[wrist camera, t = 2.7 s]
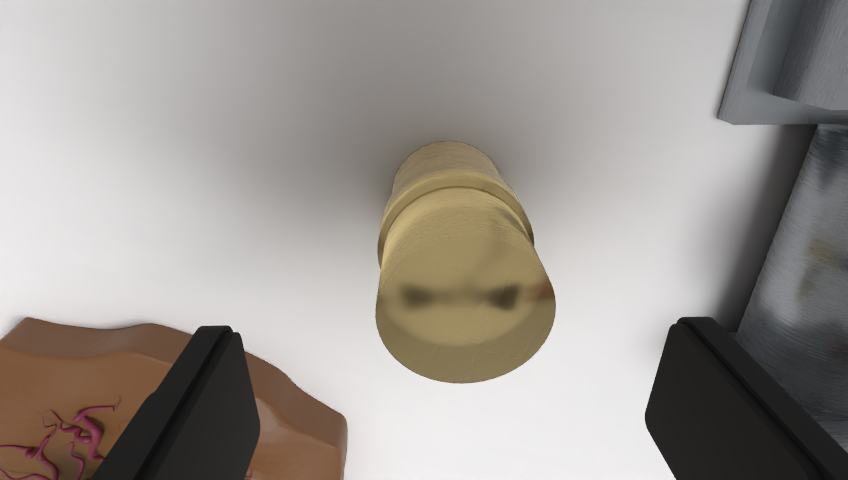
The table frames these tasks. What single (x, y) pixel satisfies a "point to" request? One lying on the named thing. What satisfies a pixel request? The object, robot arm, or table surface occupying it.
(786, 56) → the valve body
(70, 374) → the plant
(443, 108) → the table surface
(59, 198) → the table surface
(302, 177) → the table surface
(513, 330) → the cylinder
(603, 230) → the table surface
